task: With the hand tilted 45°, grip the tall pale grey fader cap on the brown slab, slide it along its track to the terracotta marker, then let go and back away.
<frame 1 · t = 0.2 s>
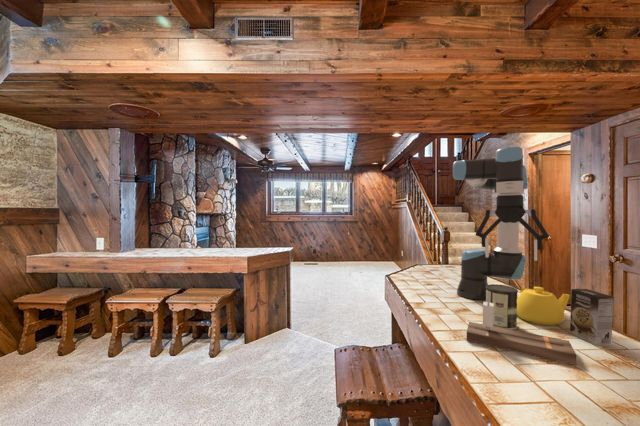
hand: (510, 258, 97), 28 cm above the bar counter, tool pointing down, fingers open, 13 cm apart
teapot: (540, 318, 119), on the bar counter
coffee can: (500, 324, 111), on the bar counter
fader: (488, 316, 98), point 8 cm above the bar counter, slide at -8.0 cm
brown slab: (515, 345, 95), on the bar counter
cookie box: (589, 339, 100), on the bar counter
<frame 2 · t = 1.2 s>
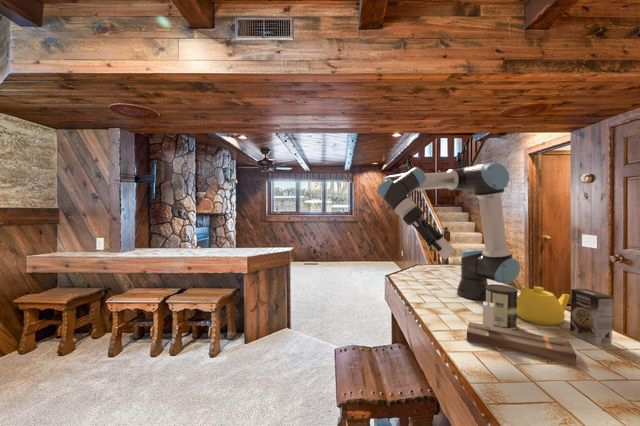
hand: (450, 254, 106), 27 cm above the bar counter, tool tilted 45°, fingers open, 13 cm apart
nothing on the bar counter moved.
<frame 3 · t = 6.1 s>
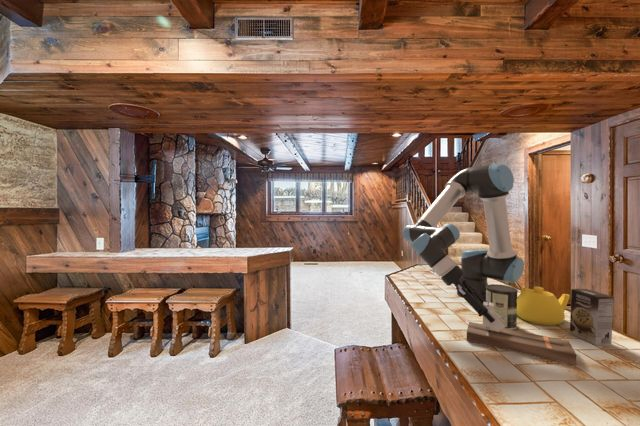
hand: (501, 326, 97), 5 cm above the bar counter, tool tilted 45°, fingers closed on fader, 4 cm apart
fader: (488, 316, 98), point 8 cm above the bar counter, slide at -8.0 cm, touching gripper
everything else where it was.
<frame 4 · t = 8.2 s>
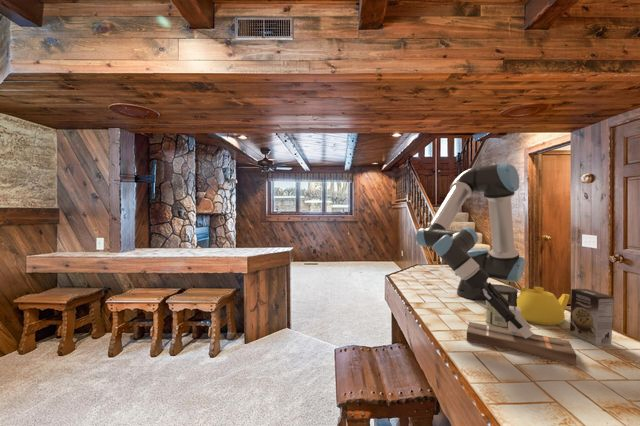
hand: (528, 332, 92), 5 cm above the bar counter, tool tilted 45°, fingers open, 5 cm apart
fader: (514, 321, 95), point 8 cm above the bar counter, slide at -0.6 cm, touching gripper
everything else where it was.
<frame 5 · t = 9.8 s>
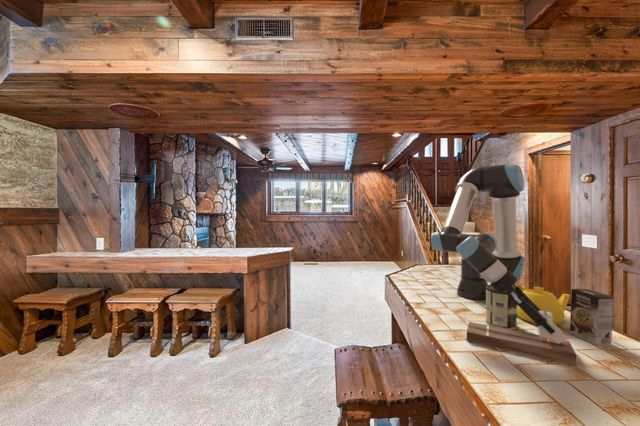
hand: (560, 337, 89), 5 cm above the bar counter, tool tilted 45°, fingers closed on fader, 4 cm apart
fader: (545, 326, 91), point 8 cm above the bar counter, slide at 7.3 cm, touching gripper
everything else where it was.
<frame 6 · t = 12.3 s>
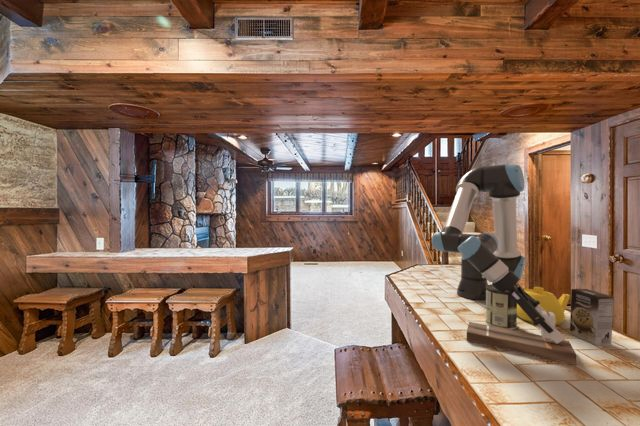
hand: (556, 332, 89), 7 cm above the bar counter, tool tilted 45°, fingers open, 13 cm apart
fader: (547, 327, 90), point 8 cm above the bar counter, slide at 8.0 cm
everything else where it was.
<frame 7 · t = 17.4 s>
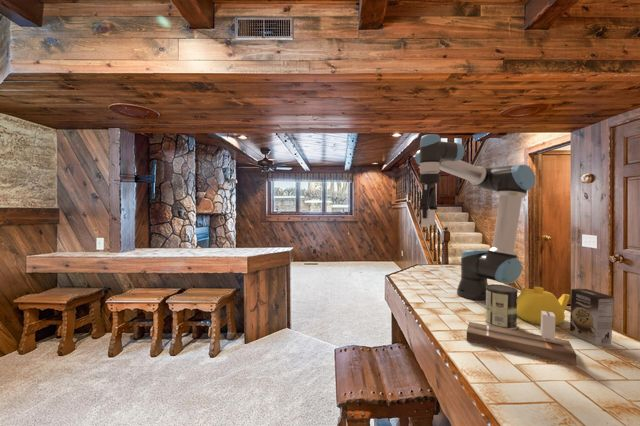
hand: (428, 226, 119), 37 cm above the bar counter, tool pointing down, fingers open, 13 cm apart
nothing on the bar counter moved.
at the end: fader slide at 8.0 cm; the gripper is holding nothing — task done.
